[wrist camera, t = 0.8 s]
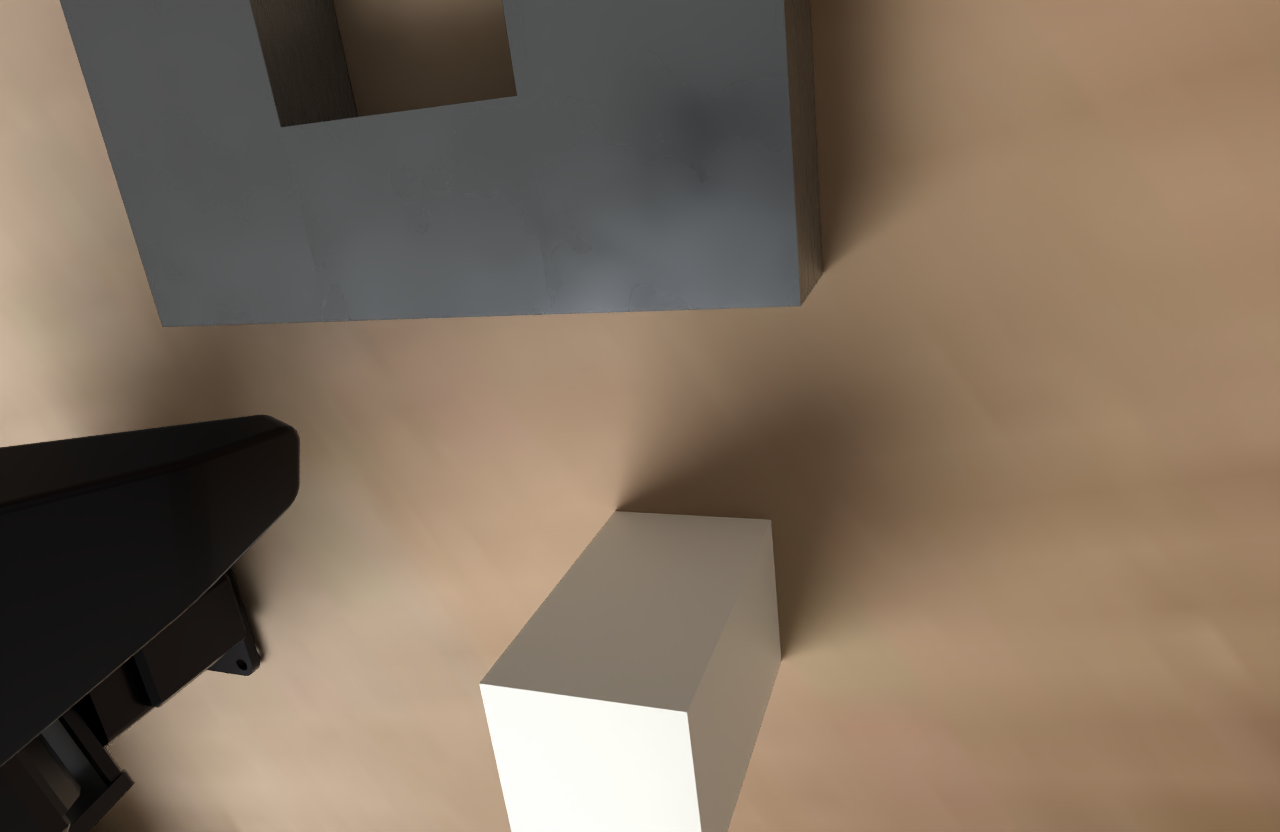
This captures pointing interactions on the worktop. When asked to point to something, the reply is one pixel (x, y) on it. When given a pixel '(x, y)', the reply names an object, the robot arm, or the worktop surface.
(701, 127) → the jig plate
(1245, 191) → the worktop surface
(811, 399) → the worktop surface
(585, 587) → the white rectangular block
